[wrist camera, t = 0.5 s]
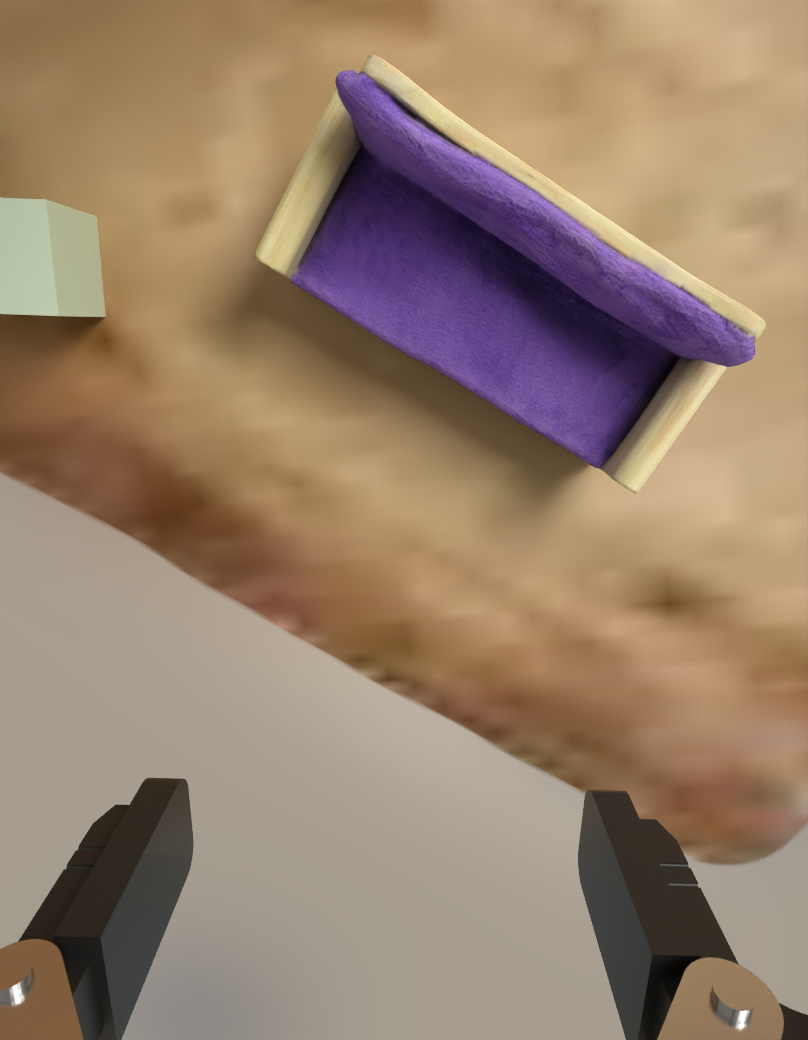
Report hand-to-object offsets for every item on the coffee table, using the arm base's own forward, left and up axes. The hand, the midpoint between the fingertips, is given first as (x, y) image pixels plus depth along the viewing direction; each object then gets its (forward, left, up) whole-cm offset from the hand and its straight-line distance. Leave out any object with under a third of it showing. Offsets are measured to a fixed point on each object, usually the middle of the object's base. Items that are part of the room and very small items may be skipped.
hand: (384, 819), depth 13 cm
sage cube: (-12, -19, -26) cm, 34 cm away
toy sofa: (-11, +4, -27) cm, 29 cm away
